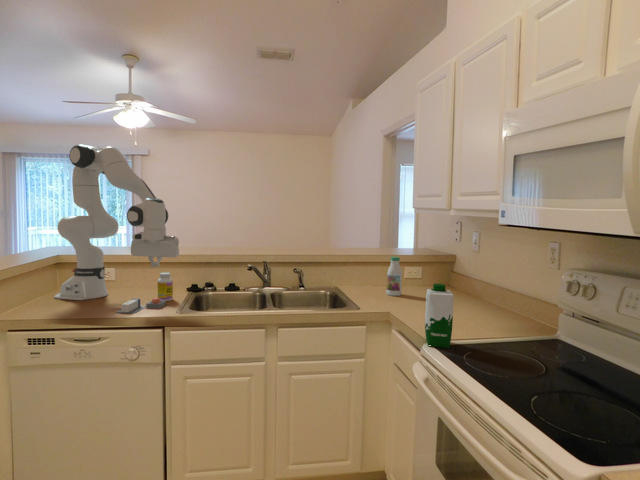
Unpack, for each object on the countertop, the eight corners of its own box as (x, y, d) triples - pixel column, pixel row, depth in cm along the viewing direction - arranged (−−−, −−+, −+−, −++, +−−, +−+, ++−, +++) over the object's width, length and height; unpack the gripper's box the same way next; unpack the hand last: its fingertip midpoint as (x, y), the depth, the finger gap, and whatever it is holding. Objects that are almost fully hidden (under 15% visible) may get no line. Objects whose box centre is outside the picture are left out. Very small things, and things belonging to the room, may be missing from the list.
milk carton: (448, 340, 137) (451, 283, 135) (453, 349, 128) (456, 289, 126) (423, 338, 138) (425, 282, 136) (425, 347, 129) (428, 287, 128)
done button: (150, 306, 171) (150, 299, 171) (154, 304, 175) (154, 297, 174) (158, 306, 171) (158, 299, 171) (161, 304, 175) (161, 297, 174)
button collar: (146, 308, 170) (146, 303, 170) (152, 304, 176) (152, 300, 176) (160, 308, 170) (159, 303, 170) (165, 304, 176) (165, 300, 176)
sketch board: (115, 312, 162) (115, 312, 162) (128, 306, 173) (128, 305, 173) (134, 313, 162) (134, 312, 162) (146, 306, 173) (146, 305, 173)
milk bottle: (390, 292, 212) (391, 255, 210) (403, 294, 207) (405, 257, 206) (383, 294, 206) (385, 257, 204) (397, 297, 201) (399, 258, 199)
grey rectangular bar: (128, 312, 162) (128, 304, 162) (121, 312, 162) (121, 304, 162) (140, 306, 172) (140, 298, 172) (133, 305, 172) (133, 298, 172)
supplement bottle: (167, 302, 181) (167, 274, 180) (154, 301, 182) (154, 274, 181) (175, 298, 188) (175, 272, 187) (163, 297, 189) (162, 271, 188)
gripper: (181, 235, 173) (181, 266, 175) (135, 234, 174) (136, 264, 175) (175, 236, 167) (175, 268, 168) (128, 235, 167) (129, 267, 169)
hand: (155, 266), depth 172 cm, fingers closed
